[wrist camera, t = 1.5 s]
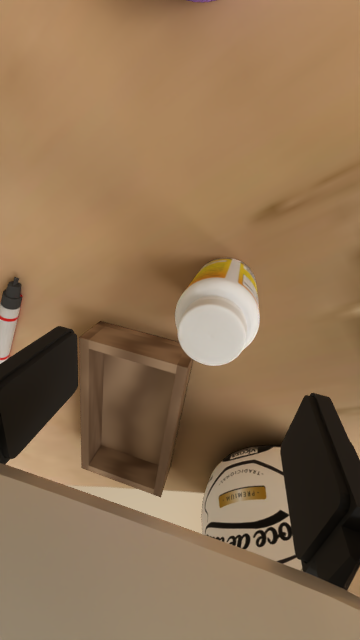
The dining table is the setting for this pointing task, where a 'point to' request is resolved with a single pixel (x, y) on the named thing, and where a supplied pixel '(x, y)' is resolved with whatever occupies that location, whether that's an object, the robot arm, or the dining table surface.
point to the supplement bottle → (218, 312)
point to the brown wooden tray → (130, 404)
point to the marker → (9, 316)
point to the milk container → (250, 505)
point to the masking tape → (201, 0)
